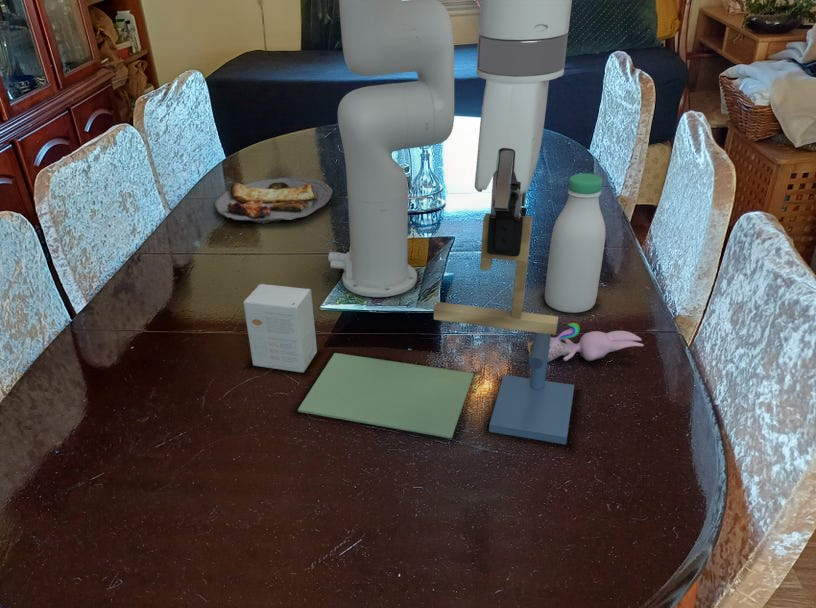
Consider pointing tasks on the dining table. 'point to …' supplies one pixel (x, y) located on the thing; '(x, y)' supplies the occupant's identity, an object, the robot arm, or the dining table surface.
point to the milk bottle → (577, 248)
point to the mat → (389, 394)
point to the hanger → (516, 316)
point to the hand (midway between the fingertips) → (505, 248)
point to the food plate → (273, 199)
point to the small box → (281, 327)
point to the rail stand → (533, 401)
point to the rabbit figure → (589, 343)
